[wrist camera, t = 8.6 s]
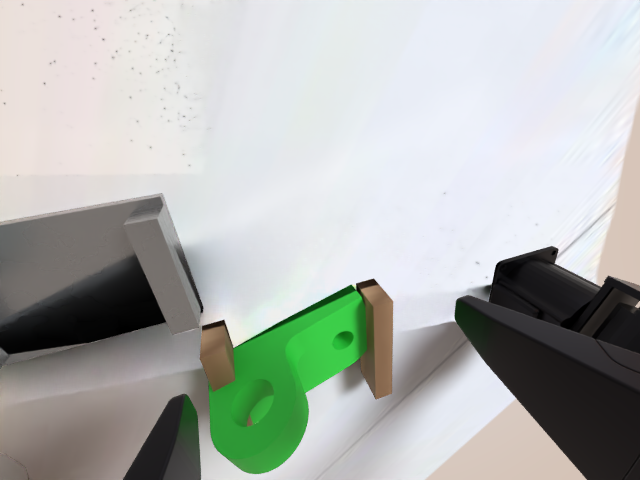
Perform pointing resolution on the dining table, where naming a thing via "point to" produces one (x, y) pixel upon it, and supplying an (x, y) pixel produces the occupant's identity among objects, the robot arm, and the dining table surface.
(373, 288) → the beam rails
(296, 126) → the dining table surface
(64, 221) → the u-shaped bracket
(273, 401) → the mechanical part
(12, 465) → the cup
